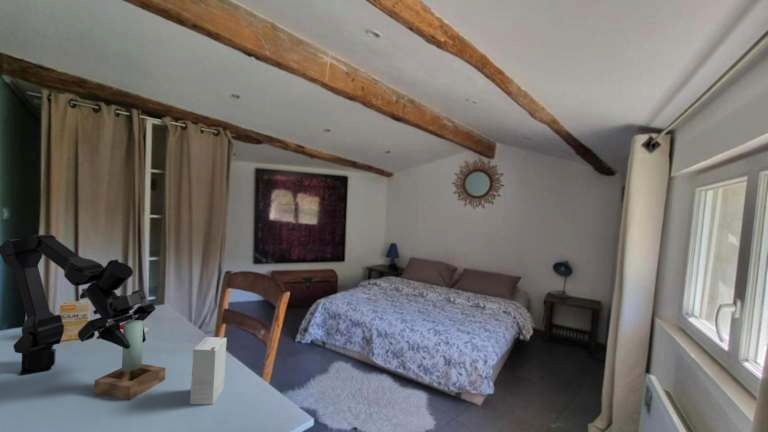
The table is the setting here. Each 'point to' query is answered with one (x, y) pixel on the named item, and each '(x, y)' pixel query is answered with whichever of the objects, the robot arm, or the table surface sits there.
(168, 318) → the table surface
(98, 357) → the table surface
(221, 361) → the skincare box
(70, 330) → the supplement box
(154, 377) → the square wooden frame
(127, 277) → the robot arm
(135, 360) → the sage peg
